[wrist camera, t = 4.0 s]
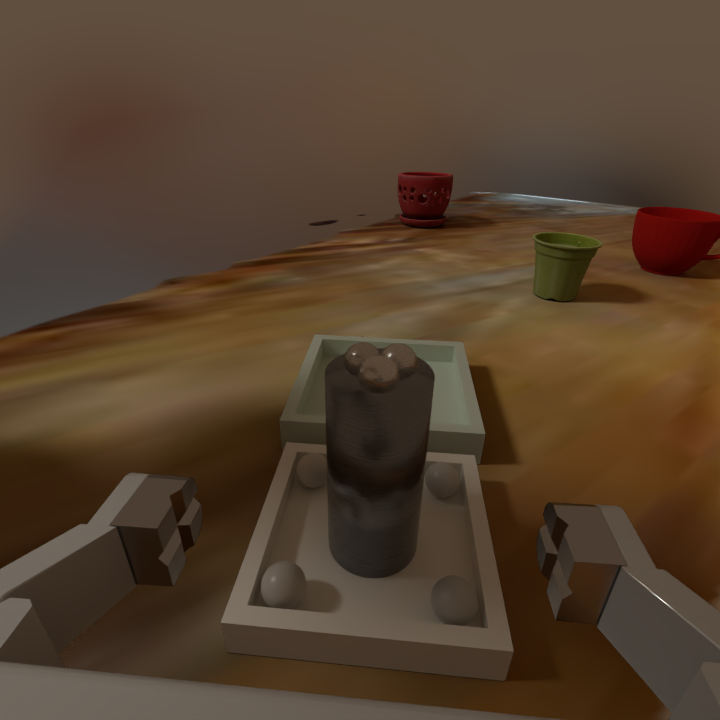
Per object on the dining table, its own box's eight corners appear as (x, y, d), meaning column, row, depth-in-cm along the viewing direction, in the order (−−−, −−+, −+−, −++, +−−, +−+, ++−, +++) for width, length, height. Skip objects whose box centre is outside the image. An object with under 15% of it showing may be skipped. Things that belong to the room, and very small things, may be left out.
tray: (227, 652, 24) (218, 611, 22) (288, 467, 36) (285, 432, 34) (504, 681, 23) (517, 640, 21) (470, 481, 35) (476, 445, 33)
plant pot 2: (556, 282, 77) (568, 229, 73) (601, 302, 69) (617, 244, 65) (510, 288, 74) (519, 234, 70) (551, 309, 66) (565, 249, 62)
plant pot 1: (459, 225, 115) (465, 174, 109) (421, 232, 108) (425, 177, 102) (421, 216, 124) (425, 168, 118) (384, 222, 117) (387, 171, 111)
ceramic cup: (719, 293, 73) (745, 229, 69) (610, 268, 84) (626, 212, 79) (738, 276, 81) (762, 218, 77) (636, 256, 92) (651, 204, 87)
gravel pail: (321, 574, 27) (314, 372, 20) (334, 503, 31) (332, 322, 25) (417, 582, 26) (441, 379, 20) (415, 509, 31) (434, 327, 25)
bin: (281, 450, 38) (279, 420, 36) (315, 358, 52) (314, 334, 50) (480, 464, 37) (485, 434, 35) (459, 366, 51) (462, 342, 49)
